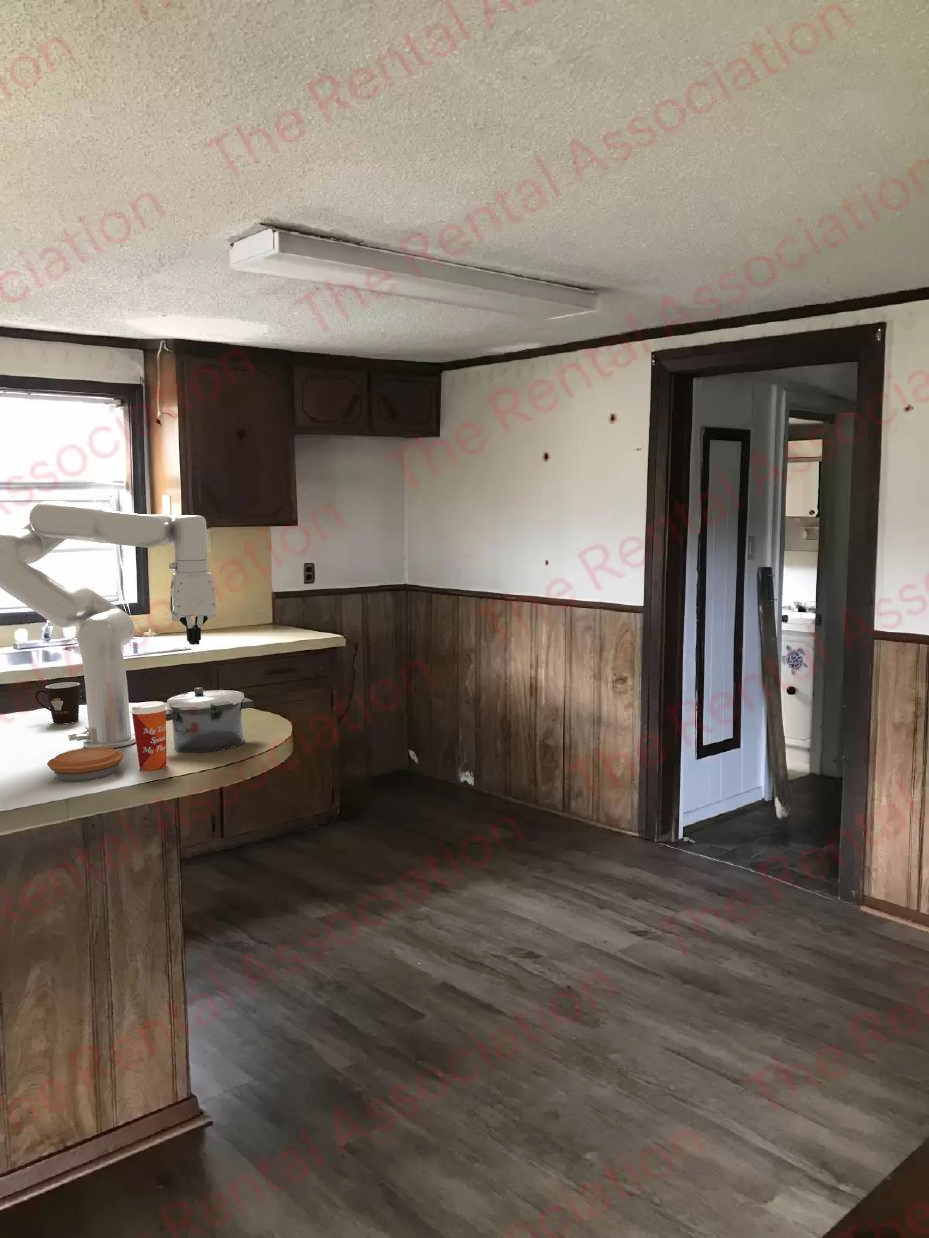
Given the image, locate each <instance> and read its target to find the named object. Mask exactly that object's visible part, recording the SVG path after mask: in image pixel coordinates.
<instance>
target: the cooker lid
mask: <svg viewBox="0 0 929 1238" xmlns="http://www.w3.org/2000/svg"><path fill="white" fill-rule="evenodd" d="M193 689H194V690H193V691H190V692H182V693H180V694H178V695H175V696H171V697H170V698H168V699H167V700H166V704H167V705H166V707H167V708H169V709H177V710H204V709H212V710H215V711H220V710H227V709H233V705H235V704H238V703H240V702H242V701H243V700H244V698H245V694H244V692H242V691H238V690H224V689H219V690H214V689H213V690H205V689H204V687H194V688H193Z"/></svg>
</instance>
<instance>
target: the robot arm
mask: <svg viewBox="0 0 929 1238" xmlns="http://www.w3.org/2000/svg"><path fill="white" fill-rule="evenodd" d="M207 530H208V529H207V520H206V518H205V517H204V516H202V515H194V514H193V515H192V514H191V515H189V514H185V515H178V516H177V515H169V514H162V513H161V514H140V513H139V514H138V513H130V512H129V513H128V512H121V511H113V510H109V509H107V508H106V507H103V506H100V505H90V504H80V503H79V504H78V503H72V502H71V503H70V502H67V501H63V500H48V501H41V502H39V503H37V504H36V505H34V506H33V508H32V509H31V511H30V512H29V523H28V524H27V525H25V526H24V527H23V528H22V529H13V530H3V531H0V589H1V590H3V591H4V592H6V593H7V594H9V595H10V596H12V597H13V598H14V599H16V600H18V601H20V603H23V604H24V605H25V606H27V607H28V608H29V609H31V610H32V611H33V612H35V613H36V614H38V615H40V616H41V617H43V618H44V619H46V620H47V621H48V622H50V623H51V624H53V625H54V626H56V627H59V628H69V627H70V628H71V627H73V626H78V627H79V630H78V631H77V632H78V633H77V643H78V648H79V651H80V657H81V660H82V667H83V676H84V685H85V698H86V710H87V721H88V725H86V726H85V727H84V729H81V731H73V732H68V734H67V735H68V736H67V738H68V741H69V742H73V741H76V742H79V741H82V743H83V745H82V746H83V747H84V748H96V747H106V748H112V749H115V748H122V747H126V746H130V745H133V744H136V739H135V732H134V733H133V732H132V727H131V717H130V716H131V715H130V714H131V713H130V702H129V691H128V690H129V689H128V679H127V668H126V663H125V658H124V655H123V652H122V648H123V647H124V646H126V645H128V644H129V643H130V642H131V641H132V639H133V637H134V636H135V623H134V621H133V620H132V618H131V617H130V615H129V614H128V613H126V612H125V611H124V610H122V609H121V608H120V607H119V606H117V605H115V604H113V603H112V602H110V601H109V600H107V599H106V598H105V597H103V596H102V595H100V594H98V593H97V592H95V591H94V590H92V589H90V588H88V587H85V586H82V585H70V586H69V585H68V586H66V585H63V584H61V583H59V582H57V581H56V580H54V579H53V578H51V577H50V576H48V575H47V574H46V573H44V572H43V571H41V570H38V569H37V568H35V567H32V566H31V565H30V564H33V563H36V562H38V561H39V560H41V559H42V558H44V557H45V556H47V555H48V554H49V553H51V552H52V551H53V550H55V548H57V547H58V546H60V545H61V544H62V543H63V542H65V541H66V540H67V539H68V540H77V541H83V542H91V543H99V544H112V545H119V546H127V547H128V546H129V547H139V548H149V549H150V548H155V547H156V548H157V547H164V546H165V547H166V546H171V545H174V546H173V549H174V550H173V551H174V560H173V562H171V563H169V564H168V569H169V570H173V571H174V573H172V574H171V575H172V576H171V580H170V593H169V610H170V616H169V617H170V621H174V622H178V623H179V622H180V623H181V624H182V625H183V626H184V627H185V628H186V641H187V642H188V644H190V645H192V646H195V645H200V641H202V627H203V626H204V624H205V623H206V622H207V621H209V620H212V619H215V618H216V615H217V614H216V612H217V597H216V589H215V583H214V577H213V574H212V572H209V567H208V566H209V564H208V563H209V562H208V536H207ZM193 616H194V621H192V617H193ZM193 622H194V623H193Z"/></svg>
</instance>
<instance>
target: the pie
mask: <svg viewBox="0 0 929 1238" xmlns="http://www.w3.org/2000/svg"><path fill="white" fill-rule="evenodd" d="M124 756H125V755H124V752H123V751H120V750H117V749H115V748H106V747H96V748H86V747H84V748H78V749H73V750H68V751H65V752H62V753H58V755H55V757H53V758H51V759H49V760H48V762H47V763H46V765H47V766H48V768H49V769H50V770H51V771H53V773H54V774H55V775H56V776H57V778H58V779H59V780H60V781H62V780H63V782H67V783H79V782H81V783H82V782H90V781H96V780H101V779H104V778H107V777H109V776H112V775H113V774H114V773H115V772H116V770H117V769H118V767H119V764H120V763H121V761H122V760H123V758H124Z"/></svg>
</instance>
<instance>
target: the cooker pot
mask: <svg viewBox="0 0 929 1238" xmlns="http://www.w3.org/2000/svg"><path fill="white" fill-rule="evenodd" d="M254 707H255V706H254V700H252V699H250V698H247V697H244V700H243V701H242V702H240V703H238V704H235V705H233V709H227V710H220V711H215V710H212V709H204V710H177V709H171V708H169V709H168V708H167V710H166V722H169V721H171V722H172V737H173V747H174V750H175V749H177V750H178V752H181V751H182V752H183V753H189V752H190V753H193V754H194V753H211V752H219V751H218V750H220V751H223V750H222V749H226V750H229V749H228V748H230V749H232V748H231V747H233V746H236V747H238V745H239V746H241V745H242V744H243V743H244V729H243V715H242V710H245V709H251V708H254ZM241 743H242V744H241ZM240 744H241V745H240ZM233 748H234V747H233ZM177 750H176V751H177ZM190 753H189V754H190Z"/></svg>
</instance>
